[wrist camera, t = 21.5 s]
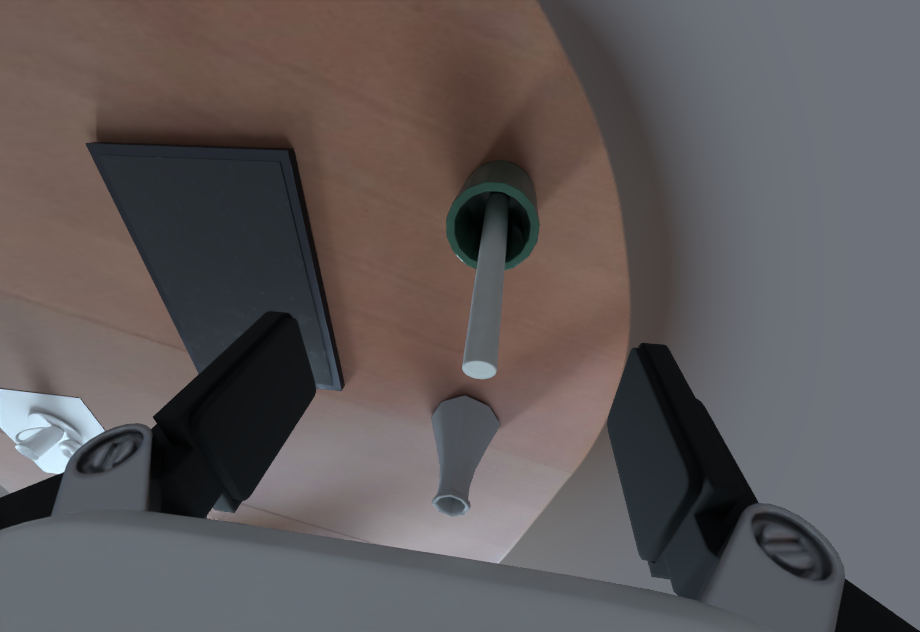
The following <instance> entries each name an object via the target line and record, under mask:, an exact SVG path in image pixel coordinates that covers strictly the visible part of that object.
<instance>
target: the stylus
mask: <svg viewBox="0 0 920 632" xmlns="http://www.w3.org/2000/svg"><path fill="white" fill-rule="evenodd" d="M506 196H507V194H505V193H503V192H495V191H492V192H491V196H490V197H489V198H488V199H487V202H486V209H485V216H484V222H483V229H482V236H481V243H480V249H479V256H478V263H477V270H476V277H475V283H474V290H473V297H472V304H471V310H470V317H469V324H468V331H467V337H466V344H465V351H464V358H463V365H462V369H463V371H464V373H465V374H467V375H468V376H470V377H473V378H477V379H487V378H491V377H493V376H494V375H495V374H496V372H497V361H498V348H499V335H500V322H501V309H502V295H503V282H504V269H505V256H506V243H507V230H508V217H509V200H508V198H507V197H506Z"/></svg>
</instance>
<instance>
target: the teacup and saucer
mask: <svg viewBox="0 0 920 632" xmlns="http://www.w3.org/2000/svg"><path fill="white" fill-rule="evenodd" d="M26 422H27V424H28V425H29V427H30V428H26V429H23V430H21V431H19V432H18V433H17V434H16V435H15V437H14V440H15V441H16V444H17V445H16V449H17V451H18V452H20V453H21V454H22V455H24V456H26V457H28V458H30V459H32V460H34V461H38V460H40V459H41V458H42V457H43V456H44V455H46V454H47V453H48V452H49V451H50V450H51V449H53V448H54V447H55V446H56V447H58V450H59V452H60V454H61V455H62V456H63V457H64V458H66V459H67V460H69V459H70V457H71V456H72V455H73V454H74V453H75V452H76V451H77V450H78V449H79V448H80V447H81V446H82V445H84V444H85V442H84V439H83V438H82V436H81V435H80V434H79V433H78V432H77V431H76V430H75V429H74V428H73V427H72V426H70V425H69V424H68V423H66V422H65V421H63V420H61V419H59V418H57V417H55V416H53V415H50V414H47V413H44V412H30V413H29V414H28V415H27V416H26ZM29 431H34V432H35V433H33V434H32V435H30V436H28V437H27V438H25V439H20V438H19V437H20V435H21V434H23V433H25V432H29Z"/></svg>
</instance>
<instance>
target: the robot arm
mask: <svg viewBox="0 0 920 632" xmlns="http://www.w3.org/2000/svg"><path fill="white" fill-rule="evenodd" d="M315 393H316V383H315V380H314V376H313V373H312V369H311V366H310V362H309V359H308V355H307V352H306V348H305V345H304V342H303V338H302V335H301V331H300V328H299V324H298V321H297V320H296V319H295V318H293V317H292V315H291V314H290V313H287V312H276V311H267V312H266V313H264V314H263V315H262V316H261V317H260V318H259V319H258V320H257V321H256V322H255V323H254V324H253V325H252V326H250V327H249V328H248V329H247V330H246V331H245V332H244V333H243V334H242V335H241V336H240V337H239V338H237V339H236V340H235V341H234V342H233V343H232V344H231V345H230V346H229V347H228V348H227V349H226V350H225V351H223V352H222V353H221V354H220V355H219V356H218V357H217V358H216V359H215V360H214V361H213V362H212V363H211V364H209V365H208V366H207V367H206V368H205V369H204V370H203V371H202V372H201V373H200V374H199V375H198V376H196V377H195V378H194V379H193V380H192V381H191V382H190V383H189V384H188V385H187V386H186V387H185V388H184V389H182V390H181V391H180V392H179V393H178V394H177V395H176V396H175V397H174V398H173V399H172V400H171V401H169V402H168V403H167V404H166V405H165V406H164V407H163V408H162V409H161V410H160V411H159V412H158V413H157V414H155V415H154V416H153V418H154V420H155V421H156V423H157V424H156V425H155V426H154V427H153V428H152V429H150V428H149V427H148V426H146V425H143V424H138V423H136V424H126V425H122V426H118V427H114V428H112V429H110V430H107V431H105V432H102V433H101V434H99V435H97V436H95V437H94V438H92V439H90V440H89V441H88V442H86V443H85V444H84V445H82V446H81V447H80V448H79V449H78V450H77V451H76V452H75V453H74V454H73V455H72V456H71V457H70V459H69V461H68V463H67V465H66V468H65V471H64V472H63V473H60V474H58V475H55V476H53V477H50V478H48V479H46V480H43V481H41V482H38V483H36V484H33V485H31V486H28V487H26V488H23V489H21V490H18V491H16V492H13V493H11V494H8V495H6V496H3V497H1V498H0V632H920V631H919V630H917V629H916V628H914V627H913V626H912V625H910V624H909V623H907V622H906V621H904V620H903V619H902V618H900V617H899V616H897V615H896V614H894V613H893V612H892V611H890V610H889V609H887V608H886V607H885V606H883V605H882V604H880V603H879V602H878V601H876V600H875V599H873V598H872V597H870V596H869V595H867V594H866V593H865V592H863V591H862V590H860V589H859V588H858V587H856V586H855V585H853V584H852V583H851V582H849V581H848V580H846V579H845V576H844V566H843V564H842V562H841V559H840V557H839V555H838V553H837V551H836V550H835V549H834V547H833V546H832V545H831V543H830V542H829V541H828V539H827V538H826V537H824V535H822V534H821V533H820V532H819V531H818V530H817V529H816V528H815V527H814V526H813V525H811V524H810V523H808V522H807V521H806V520H804V519H803V518H802V517H800V516H799V515H797V514H794V513H792V512H791V511H789V510H787V509H785V508H782V507H778V506H775V505H772V504H762V503H758V501H757V499H756V497H755V495H754V494H753V492H752V490H751V488H750V486H749V485H748V483H747V481H746V479H745V478H744V476H743V474H742V472H741V470H740V469H739V467H738V465H737V463H736V461H735V460H734V458H733V456H732V454H731V453H730V451H729V449H728V447H727V445H726V444H725V442H724V440H723V438H722V436H721V435H720V433H719V431H718V429H717V428H716V426H715V424H714V422H713V420H712V419H711V417H710V415H709V413H708V412H707V410H706V408H705V406H704V405H703V404H702V402H701V401H699V400H698V399H696V398H695V396H694V394H693V393H692V390H691V389H690V387H689V385H688V383H687V381H686V380H685V378H684V376H683V374H682V372H681V370H680V369H679V367H678V365H677V363H676V361H675V360H674V358H673V356H672V354H671V352H670V350H669V349H668V347H667V346H666V345H660V344H648V343H641V344H640V345H639V347H638V348H632V350H631V351H630V354H629V357H628V360H627V363H626V366H625V369H624V372H623V375H622V378H621V381H620V384H619V386H618V389H617V392H616V395H615V398H614V401H613V404H612V407H611V410H610V413H609V416H608V422H607V426H608V433H609V437H610V440H611V445H612V449H613V453H614V457H615V461H616V465H617V468H618V473H619V477H620V481H621V485H622V489H623V493H624V497H625V501H626V505H627V509H628V513H629V517H630V521H631V525H632V529H633V533H634V537H635V541H636V545H637V549H638V552H639V555H640V557H641V559H642V560H647V561H648V565H649V568H650V572H651V576H652V577H657V578H664V579H670V580H671V583H672V587H673V590H674V592H675V593H676V594H677V595H678V596H675V595H671V594H667V593H662V592H658V591H654V590H649V589H643V588H637V587H632V586H627V585H621V584H615V583H610V582H604V581H599V580H593V579H587V578H582V577H576V576H571V575H565V574H558V573H552V572H546V571H540V570H533V569H527V568H521V567H515V566H509V565H502V564H496V563H490V562H484V561H478V560H472V559H465V558H459V557H453V556H447V555H440V554H434V553H427V552H421V551H415V550H408V549H402V548H395V547H389V546H383V545H376V544H370V543H363V542H357V541H350V540H344V539H338V538H331V537H325V536H318V535H312V534H305V533H298V532H292V531H285V530H278V529H272V528H265V527H258V526H252V525H245V524H238V523H232V522H225V521H218V520H211V519H207V514H208V513H209V512H210V510H211V509H212V507H213V508H214V509H215V510H218V511H225V512H232V513H235V511H236V510H237V508H238V507H239V505H240V504H241V502H242V501H244V500H247V499H248V498H249V497H250V496H251V494H252V493H253V491H254V490H255V488H256V487H257V485H258V484H259V482H260V480H261V479H262V477H263V476H264V474H265V473H266V471H267V470H268V468H269V466H270V465H271V463H272V462H273V460H274V459H275V457H276V456H277V454H278V452H279V451H280V449H281V448H282V446H283V445H284V443H285V442H286V440H287V438H288V437H289V435H290V434H291V432H292V431H293V429H294V428H295V426H296V424H297V423H298V421H299V420H300V418H301V417H302V415H303V414H304V412H305V410H306V409H307V407H308V406H309V404H310V403H311V401H312V400H313V398H314V396H315Z"/></svg>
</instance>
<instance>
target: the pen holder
mask: <svg viewBox="0 0 920 632" xmlns="http://www.w3.org/2000/svg"><path fill="white" fill-rule="evenodd" d="M492 191H495V192H503V193H505V194H507V196H506V197H507V198H508V200H509V217H508V230H507V243H506V256H505V269H504V270H508V269H511V268H514V267H516V266H517V265H518V264H520V263H521V262H522V261H524V260H525V259H526V258H527V257H528V256H529V255H530V253H531V251H532V250H533V248H534V246H535V245H536V243H537V240H538V233H539V225H540V224H539V216H538V208H537V200H536V193H535V190H534V186H533V183H532V181H531V179H530V177H529V175H528V174H527V173H526V172H525V171H524V170H523V169H522V168H521V167H519V166H518V165H516V164H514V163H512V162H508V161H502V160H497V161H491V162H487V163H485V164H483V165H481V166H479V167H478V168H477V169H475V170H474V171H473V172H472V173H471V175H470V176H469V177H468V178H467V180H466V181H465V183H464V185H463V186H462V188H461V190H460V191H459V193H458V195H457V196H456V198H455V200H454V202H453V204H452V206H451V208H450V211H449V213H448V216H447V219H446V232H447V238H448V241H449V243H450V245H451V248H452V250H453V252H454V253H455V254H456V255H457V256H458V257H459V258H460V259H461V260H462V261H463V262H464V263H465V264H466V265H468V266H470V267H473V268H475V269H477V263H478V256H479V249H480V243H481V236H482V229H483V222H484V216H485V209H486V202H487V199H488V198H489V197H490V196H491V192H492Z"/></svg>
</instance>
